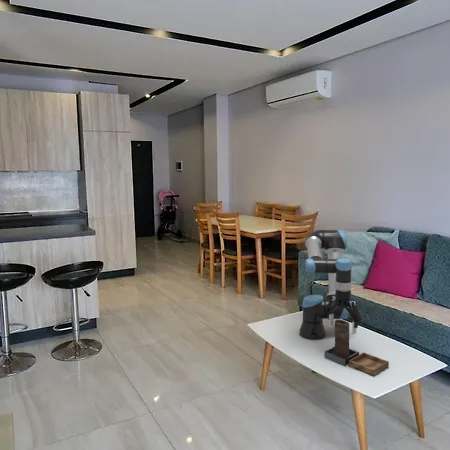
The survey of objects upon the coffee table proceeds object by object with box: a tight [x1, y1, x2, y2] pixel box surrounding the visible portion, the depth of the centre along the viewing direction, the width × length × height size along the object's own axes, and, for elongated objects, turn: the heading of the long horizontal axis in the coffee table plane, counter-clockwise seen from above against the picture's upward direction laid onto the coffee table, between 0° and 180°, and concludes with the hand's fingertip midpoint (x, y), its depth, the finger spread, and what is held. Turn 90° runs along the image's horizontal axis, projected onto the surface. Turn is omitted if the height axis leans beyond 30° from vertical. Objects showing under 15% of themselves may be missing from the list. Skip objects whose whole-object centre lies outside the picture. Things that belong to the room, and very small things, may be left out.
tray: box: [348, 352, 390, 377], centre depth 197 cm, size 14×14×3 cm
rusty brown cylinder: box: [334, 319, 350, 358], centre depth 205 cm, size 8×7×20 cm
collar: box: [323, 346, 360, 367], centre depth 206 cm, size 12×12×4 cm
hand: (342, 329), depth 204 cm, fingers open, 13 cm apart
